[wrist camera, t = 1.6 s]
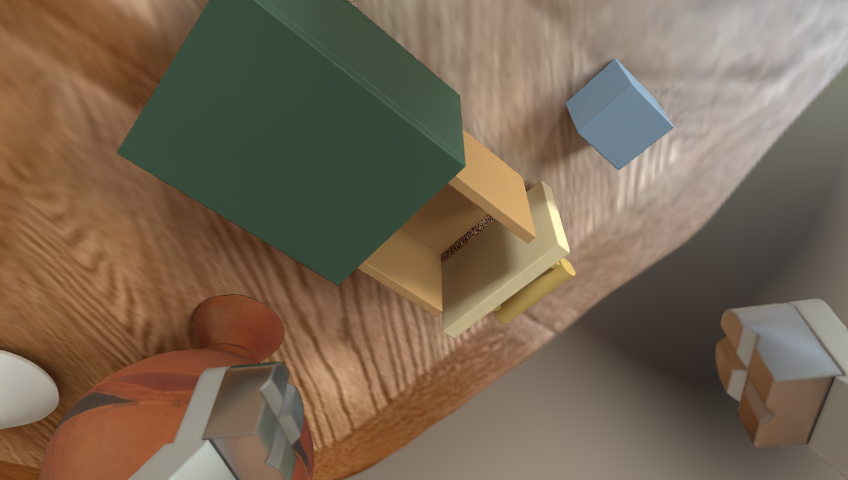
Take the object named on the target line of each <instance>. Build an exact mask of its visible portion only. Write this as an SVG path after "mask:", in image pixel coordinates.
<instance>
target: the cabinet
mask: <svg viewBox="0 0 848 480" xmlns="http://www.w3.org/2000/svg"><path fill="white" fill-rule="evenodd" d="M117 154H119V155H121V156H122V157H124V158H126V159H127V160H129V161H131V162H132V163H134V164H136V165H137V166H139V167H141V168H142V169H144V170H146V171H147V172H149V173H151V174H152V175H154V176H156V177H157V178H159V179H161V180H162V181H164V182H166V183H167V184H169V185H171V186H172V187H174V188H176V189H177V190H179V191H181V192H182V193H184V194H186V195H187V196H189V197H191V198H192V199H194V200H196V201H197V202H199V203H201V204H202V205H204V206H206V207H207V208H209V209H211V210H213V211H214V212H216V213H218V214H219V215H221V216H223V217H224V218H226V219H228V220H229V221H231V222H233V223H234V224H236V225H238V226H239V227H241V228H243V229H244V230H246V231H248V232H249V233H251V234H253V235H254V236H256V237H258V238H259V239H261V240H263V241H264V242H266V243H268V244H269V245H271V246H273V247H274V248H276V249H278V250H279V251H281V252H283V253H284V254H286V255H288V256H289V257H291V258H293V259H294V260H296V261H298V262H299V263H301V264H303V265H304V266H306V267H308V268H309V269H311V270H313V271H314V272H316V273H318V274H319V275H321V276H323V277H324V278H326V279H328V280H329V281H331V282H333V283H335V284H336V285H340V284H341V283H342V282H343V281H344V280H345V279H346V278H347V277H348V276H349V275H350V274H351V273H353V272H354V271H355V270H356V269H357V268H358V267H359V266H360V265H361V264H362V263H363V262H364V261H365V260H366V259H367V258H369V257H370V256H371V255H372V254H373V253H374V252H375V251H376V250H377V249H378V248H379V247H380V246H381V245H382V244H383V243H385V242H386V241H387V240H388V239H389V238H390V237H391V236H392V235H393V234H394V233H395V232H396V231H397V230H398V229H399V228H401V227H402V226H403V225H404V224H405V223H406V222H407V221H408V220H409V219H410V218H411V217H412V216H413V215H414V214H416V213H417V212H418V211H419V210H420V209H421V208H422V207H423V206H424V205H425V204H426V203H427V202H428V201H429V200H430V199H432V198H433V197H434V196H435V195H436V194H437V193H438V192H439V191H440V190H441V189H442V188H443V187H444V186H445V185H446V184H448V183H449V182H450V181H451V180H452V179H453V178H454V177H455V176H456V175H457V174H458V173H459V172H460V171H461V170H462V169H464V168H465V167H466V163H465V150H464V139H463V128H462V116H461V105H460V95H458V94H457V93H456V92H455V91H454V90H452V89H451V88H450V87H449V86H448V85H447V84H445V83H444V82H443V81H442V80H441V79H440V78H438V77H437V76H436V75H435V74H434V73H432V72H431V71H430V70H429V69H428V68H427V67H425V66H424V65H423V64H422V63H421V62H420V61H418V60H417V59H416V58H415V57H414V56H412V55H411V54H410V53H409V52H408V51H407V50H405V49H404V48H403V47H402V46H401V45H400V44H398V43H397V42H396V41H395V40H394V39H392V38H391V37H390V36H389V35H388V34H387V33H385V32H384V31H383V30H382V29H381V28H380V27H378V26H377V25H376V24H375V23H374V22H372V21H371V20H370V19H369V18H368V17H367V16H365V15H364V14H363V13H362V12H361V11H360V10H358V9H357V8H356V7H355V6H354V5H352V4H351V3H350V2H349V1H348V0H210V1H209V2H208V4H207V6H206V7H205V9H204V11H203V12H202V14H201V15H200V17H199V19H198V20H197V22H196V24H195V25H194V27H193V29H192V30H191V32H190V33H189V35H188V37H187V38H186V40H185V42H184V43H183V45H182V47H181V48H180V50H179V51H178V53H177V55H176V56H175V58H174V60H173V61H172V63H171V65H170V66H169V68H168V69H167V71H166V73H165V74H164V76H163V78H162V79H161V81H160V83H159V84H158V86H157V87H156V89H155V91H154V92H153V94H152V96H151V97H150V99H149V101H148V102H147V104H146V105H145V107H144V109H143V110H142V112H141V114H140V115H139V117H138V119H137V120H136V122H135V123H134V125H133V127H132V128H131V130H130V132H129V133H128V135H127V137H126V138H125V140H124V141H123V143H122V145H121V146H120V148H119V150H118V151H117Z"/></svg>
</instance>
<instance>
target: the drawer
mask: <svg viewBox="0 0 848 480" xmlns="http://www.w3.org/2000/svg"><path fill="white" fill-rule="evenodd" d="M463 139H464V150H465V163H466V167H465V168H464V169H462V170H461V171H460V172H459V173H458V174H457V175H456V176H455V177H454V178H453V179H452V180H451V181H450V182H449V183H448V184H446V185H445V186H444V187H443V188H442V189H441V190H440V191H439V192H438V193H437V194H436V195H435V196H434V197H433V198H432V199H430V200H429V201H428V202H427V203H426V204H425V205H424V206H423V207H422V208H421V209H420V210H419V211H418V212H417V213H416V214H414V215H413V216H412V217H411V218H410V219H409V220H408V221H407V222H406V223H405V224H404V225H403V226H402V227H401V228H399V229H398V230H397V231H396V232H395V233H394V234H393V235H392V236H391V237H390V238H389V239H388V240H387V241H386V242H385V243H383V244H382V245H381V246H380V247H379V248H378V249H377V250H376V251H375V252H374V253H373V254H372V255H371V256H370V257H369V258H367V259H366V260H365V261H364V262H363V263H362V264H361V265H360V266H359V267H358V269H360V270H361V271H363V272H364V273H366V274H368V275H369V276H371V277H372V278H374V279H376V280H377V281H379V282H380V283H382V284H384V285H385V286H387V287H388V288H390V289H392V290H393V291H395V292H396V293H398V294H400V295H401V296H403V297H404V298H406V299H408V300H409V301H411V302H412V303H414V304H416V305H417V306H419V307H420V308H422V309H424V310H425V311H427V312H428V313H430V314H432V315H433V316H435V317H436V316H437V315H438V314H440V313H441V312H442V323H443V332H444V333H445V334H447V335H449V336H450V337H452V338H456V337H457V336H458V335H460V334H461V333H462V332H464V331H465V330H466V329H468V328H469V327H470V326H472V325H473V324H475V323H476V322H477V321H479V320H480V319H481V318H483V317H484V316H485V315H487V314H488V313H489V312H491V311H492V310H493V311H494V313H495V316H496V317H497V319H498V320H499V321H500V322H501V323H503V324H507V323H509V322H510V321H512V320H513V319H514V318H516V317H517V316H519V315H520V314H521V313H523V312H524V311H526V310H527V309H528V308H530V307H531V306H533V305H534V304H535V303H537V302H538V301H540V300H541V299H542V298H544V297H545V296H547V295H548V294H549V293H551V292H552V291H554V290H555V289H556V288H558V287H559V286H561V285H562V284H563V283H565V282H566V281H568V280H569V279H570V278H572V277H573V276H575V271H574V268H573V267H572V265H571V264H570V263H569V262H568V261H567V260H566V259H564V257H565V256H566V255H568V254H569V253H570V250H569V247H568V244H567V240H566V237H565V233H564V230H563V227H562V223H561V220H560V216H559V213H558V210H557V206H556V203H555V199H554V196H553V193H552V189H551V188H550V187H549V186H548V185H547V184H546V183H544V182H543V181H542V180H541V181H539V182H538V183H537V184H536V185H535V186H534V187H532V188H531V189H530V190H529V191H528V192H526V190H525V186H524V181H523V178H522V177H521V176H520V175H519V174H517V173H516V172H515V171H514V170H512V169H511V168H510V167H509V166H508V165H506V164H505V163H504V162H503V161H502V160H500V159H499V158H498V157H497V156H495V155H494V154H493V153H492V152H491V151H489V150H488V149H487V148H486V147H484V146H483V145H482V144H481V143H480V142H478V141H477V140H476V139H475V138H473V137H472V136H471V135H470V134H469V133H467V132H466V131H465V130H464V129H463ZM488 214H489V215H490V216H492V217H493V218H494V220H493V221H492V222H491V223H490V224H488V225H487V226H486V227H485V228H484V229H483V230H481V231H480V232H479V233H478V234H477V235H475V236H474V237H473V238H472V239H471V240H470V241H468V242H467V243H466V244H465V245H464V246H462V247H461V248H460V249H459V250H458V251H456V252H455V253H454V254H453V255H452V256H451V257H449V258H448V259H447V260H446V261H445V262H443V263H442V264H441V254H442V253H443V252H445V251H446V250H447V249H448V248H449V247H450V246H452V245H453V244H454V243H455V242H456V241H457V240H459V239H460V238H461V237H462V236H463V235H464V234H466V233H467V232H468V231H469V230H470V229H471V228H473V227H474V226H475V225H476V224H477V223H478V222H480V221H481V220H482V219H483V218H484V217H485V216H487V215H488Z"/></svg>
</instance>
